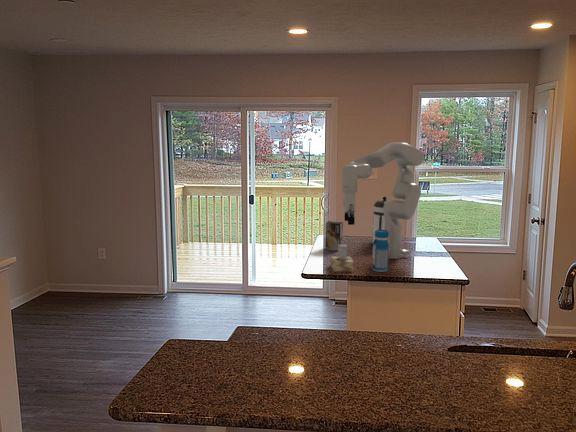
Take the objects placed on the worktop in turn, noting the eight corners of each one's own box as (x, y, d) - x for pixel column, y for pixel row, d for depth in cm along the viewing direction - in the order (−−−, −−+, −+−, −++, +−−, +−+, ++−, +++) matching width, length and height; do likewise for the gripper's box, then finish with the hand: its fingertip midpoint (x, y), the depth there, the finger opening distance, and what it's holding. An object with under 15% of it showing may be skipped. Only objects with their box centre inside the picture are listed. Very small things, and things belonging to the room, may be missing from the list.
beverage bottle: (380, 273, 248) (382, 233, 245) (367, 269, 255) (369, 230, 252) (392, 270, 253) (394, 231, 250) (379, 266, 260) (381, 228, 257)
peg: (337, 267, 257) (338, 244, 255) (345, 267, 257) (346, 244, 255) (338, 269, 253) (339, 246, 251) (346, 269, 253) (347, 246, 251)
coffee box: (342, 248, 299) (343, 222, 296) (339, 251, 293) (340, 223, 290) (328, 247, 302) (328, 220, 300) (324, 249, 296) (325, 222, 294)
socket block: (349, 266, 260) (350, 256, 260) (353, 271, 251) (353, 261, 250) (330, 266, 260) (330, 256, 259) (333, 271, 250) (333, 261, 249)
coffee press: (398, 244, 314) (401, 196, 309) (389, 248, 301) (392, 198, 296) (372, 240, 323) (375, 194, 318) (362, 245, 310) (364, 196, 305)
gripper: (339, 187, 264) (339, 219, 267) (345, 191, 247) (345, 226, 250) (353, 186, 264) (353, 219, 267) (360, 191, 247) (360, 225, 250)
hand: (349, 222), depth 259 cm, fingers open, 9 cm apart
